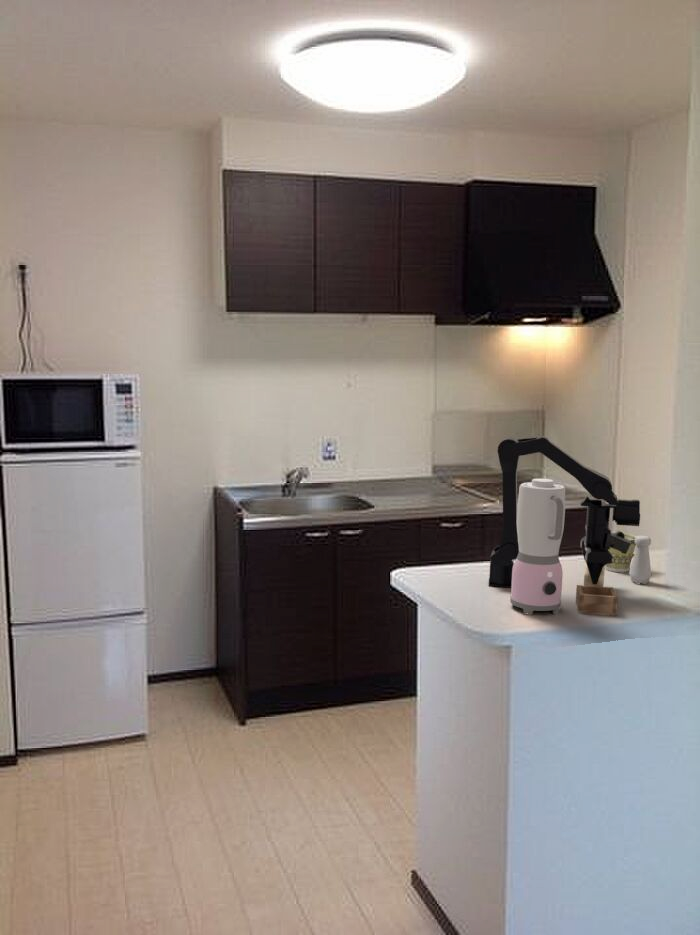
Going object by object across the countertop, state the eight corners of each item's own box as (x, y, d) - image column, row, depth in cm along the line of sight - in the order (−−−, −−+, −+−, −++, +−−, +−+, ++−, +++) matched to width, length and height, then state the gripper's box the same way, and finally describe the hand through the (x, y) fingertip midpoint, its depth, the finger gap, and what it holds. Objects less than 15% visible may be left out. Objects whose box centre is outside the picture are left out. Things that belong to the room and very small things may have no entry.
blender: (501, 602, 222) (508, 476, 218) (544, 599, 226) (552, 475, 221) (531, 621, 207) (539, 487, 203) (577, 618, 211) (586, 486, 206)
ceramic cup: (603, 573, 253) (606, 539, 252) (595, 564, 263) (597, 531, 262) (649, 575, 253) (652, 540, 251) (639, 566, 263) (641, 533, 261)
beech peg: (584, 594, 231) (586, 557, 230) (582, 589, 236) (584, 552, 235) (603, 596, 230) (606, 558, 229) (601, 590, 235) (604, 554, 234)
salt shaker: (651, 585, 241) (655, 539, 239) (629, 584, 242) (633, 537, 240) (649, 580, 247) (652, 534, 245) (627, 578, 248) (631, 533, 246)
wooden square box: (578, 613, 215) (579, 594, 214) (575, 602, 224) (576, 585, 223) (616, 615, 214) (617, 597, 213) (611, 605, 222) (612, 587, 222)
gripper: (635, 532, 220) (630, 593, 222) (624, 518, 238) (620, 574, 241) (589, 530, 222) (585, 590, 224) (582, 515, 240) (578, 571, 242)
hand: (593, 581), depth 233 cm, fingers closed on beech peg, 5 cm apart
